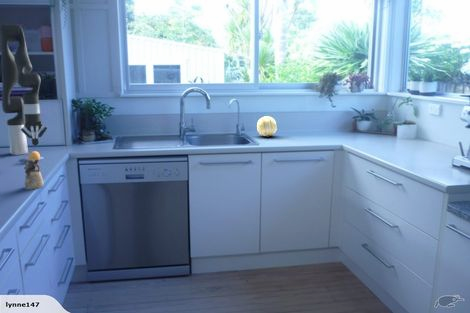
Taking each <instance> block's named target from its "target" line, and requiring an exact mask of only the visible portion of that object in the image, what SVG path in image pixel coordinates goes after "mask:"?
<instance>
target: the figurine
mask: <svg viewBox="0 0 470 313" xmlns="http://www.w3.org/2000/svg"><path fill="white" fill-rule="evenodd" d="M39 161H40V160H38V159H36V160H35V161H34V160H32V159H31V160H29V161H28V162H26V163H25V166H24V168H23V169H24V170H25V171H24V173H25V180H24V182H25V183H24V188H25V189H26V190H36V189H40V188H43V187H44V178H43V176H42V173H41V171H40V170H41V166H40V164H39ZM36 167H37V168H36Z"/></svg>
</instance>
